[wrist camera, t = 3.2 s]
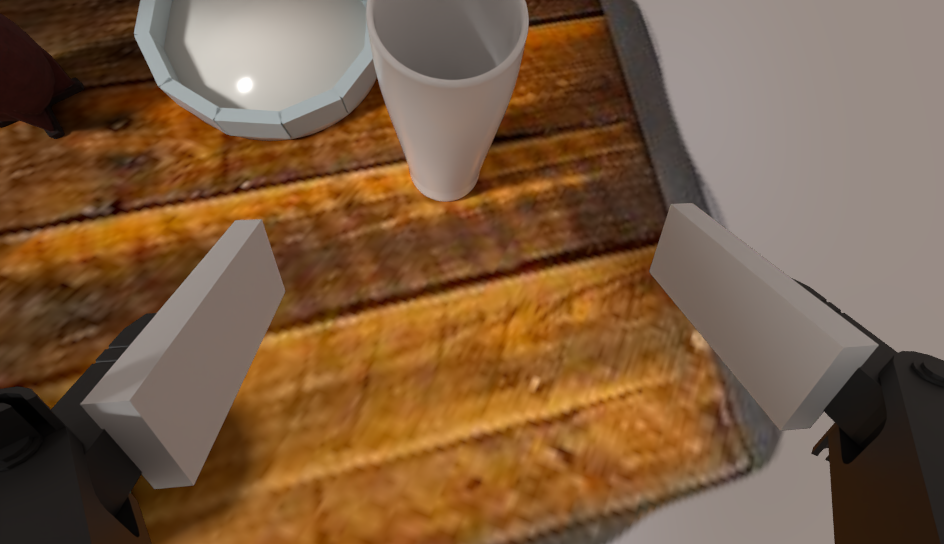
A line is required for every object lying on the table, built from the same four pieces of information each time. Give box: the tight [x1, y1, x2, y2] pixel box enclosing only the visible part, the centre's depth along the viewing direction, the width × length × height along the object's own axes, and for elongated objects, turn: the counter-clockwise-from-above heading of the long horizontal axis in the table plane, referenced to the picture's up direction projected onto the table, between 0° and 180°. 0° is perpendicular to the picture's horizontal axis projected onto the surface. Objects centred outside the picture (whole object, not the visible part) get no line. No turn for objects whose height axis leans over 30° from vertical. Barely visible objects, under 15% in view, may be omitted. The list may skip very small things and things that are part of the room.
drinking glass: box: [366, 0, 529, 202], centre depth 23 cm, size 7×7×15 cm
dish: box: [134, 0, 377, 141], centre depth 30 cm, size 17×17×2 cm
